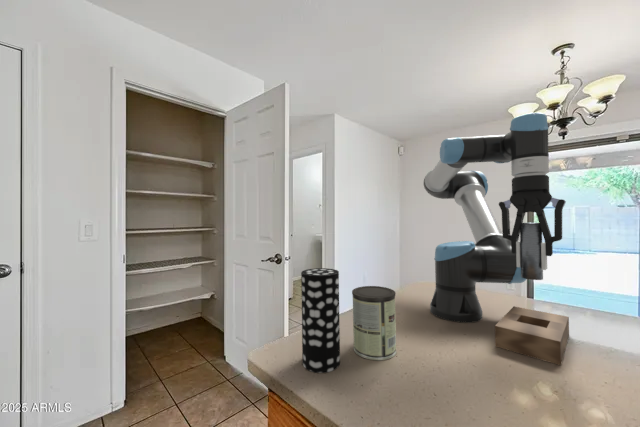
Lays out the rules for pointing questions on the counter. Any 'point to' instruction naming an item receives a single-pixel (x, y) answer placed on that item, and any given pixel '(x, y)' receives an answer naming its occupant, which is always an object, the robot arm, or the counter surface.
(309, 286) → the spotted tube
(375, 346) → the coffee can
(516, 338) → the socket block
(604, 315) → the counter surface
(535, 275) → the peg
